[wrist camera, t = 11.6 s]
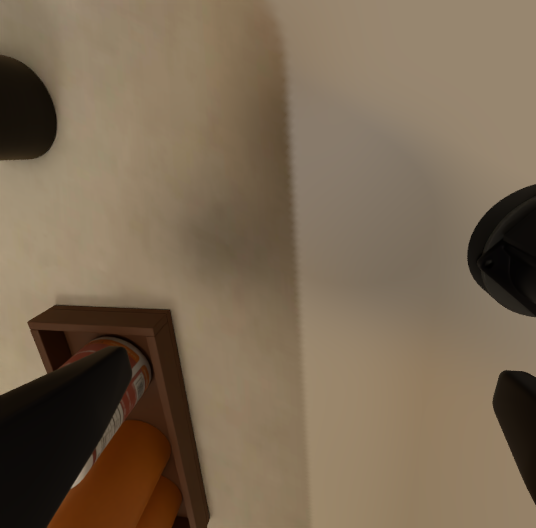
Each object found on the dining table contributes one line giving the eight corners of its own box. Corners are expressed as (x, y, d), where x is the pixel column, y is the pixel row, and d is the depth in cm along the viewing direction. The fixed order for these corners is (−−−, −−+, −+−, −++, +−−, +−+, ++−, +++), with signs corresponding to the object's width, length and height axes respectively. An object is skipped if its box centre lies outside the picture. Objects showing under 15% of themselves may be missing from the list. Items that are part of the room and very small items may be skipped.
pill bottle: (72, 346, 25) (-92, 479, 15) (125, 323, 24) (-22, 456, 13) (115, 399, 27) (-8, 552, 17) (168, 382, 25) (64, 541, 15)
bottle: (183, 445, 28) (106, 615, 18) (154, 474, 30) (70, 638, 20) (128, 408, 27) (15, 562, 17) (102, 440, 30) (-11, 593, 19)
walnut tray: (54, 305, 25) (26, 321, 23) (170, 309, 23) (152, 328, 21) (123, 504, 34) (108, 531, 32) (209, 518, 32) (200, 547, 30)
